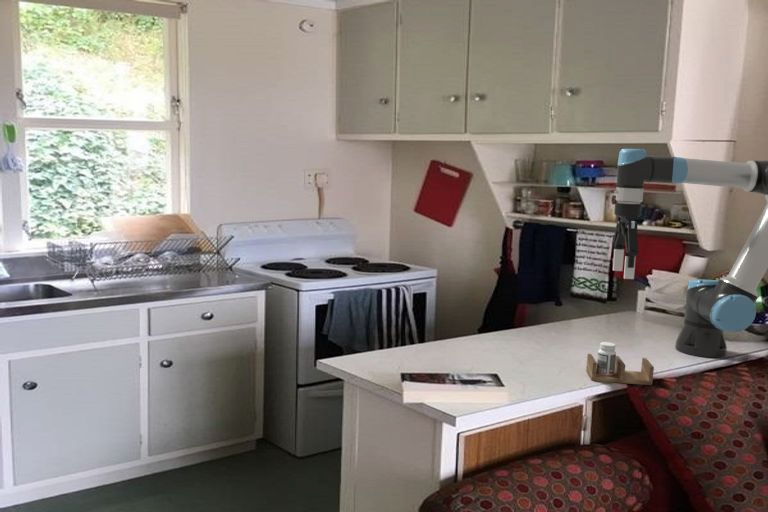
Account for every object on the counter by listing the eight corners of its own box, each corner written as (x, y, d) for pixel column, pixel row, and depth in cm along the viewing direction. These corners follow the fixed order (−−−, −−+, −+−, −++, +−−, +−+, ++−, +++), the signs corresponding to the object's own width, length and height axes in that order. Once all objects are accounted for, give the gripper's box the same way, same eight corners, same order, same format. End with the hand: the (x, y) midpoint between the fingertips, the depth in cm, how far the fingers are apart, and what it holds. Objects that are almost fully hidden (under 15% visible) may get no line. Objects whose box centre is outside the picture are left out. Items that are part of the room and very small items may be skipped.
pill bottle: (610, 371, 225) (613, 341, 223) (616, 376, 220) (619, 346, 219) (593, 370, 224) (596, 341, 223) (599, 375, 220) (602, 345, 218)
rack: (644, 375, 226) (646, 358, 225) (652, 385, 217) (654, 367, 216) (586, 371, 227) (587, 353, 226) (591, 380, 218) (593, 362, 217)
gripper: (605, 198, 247) (600, 267, 250) (626, 205, 222) (620, 281, 226) (630, 199, 247) (625, 268, 250) (653, 206, 222) (647, 282, 225)
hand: (623, 274), depth 238 cm, fingers open, 13 cm apart
